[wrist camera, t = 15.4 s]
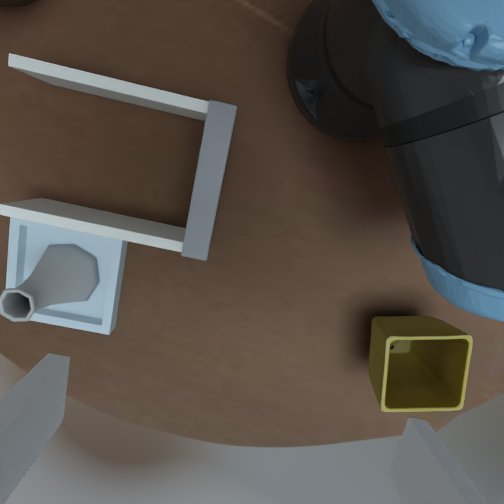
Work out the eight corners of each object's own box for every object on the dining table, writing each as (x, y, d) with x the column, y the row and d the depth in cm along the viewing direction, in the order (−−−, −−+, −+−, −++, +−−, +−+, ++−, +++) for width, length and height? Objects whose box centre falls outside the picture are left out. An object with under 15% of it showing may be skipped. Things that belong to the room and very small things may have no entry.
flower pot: (353, 366, 45) (380, 413, 37) (357, 303, 43) (387, 337, 35) (420, 364, 46) (463, 411, 37) (427, 301, 44) (474, 335, 35)
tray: (22, 211, 39) (10, 213, 37) (129, 233, 40) (123, 237, 38) (15, 308, 42) (4, 315, 40) (115, 326, 43) (109, 334, 41)
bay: (52, 74, 36) (-1, 48, 28) (238, 119, 38) (237, 106, 30) (41, 206, 39) (-10, 216, 31) (213, 242, 41) (206, 260, 33)
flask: (94, 308, 42) (49, 351, 32) (33, 292, 41) (-32, 331, 31) (106, 252, 40) (64, 279, 31) (43, 234, 40) (-22, 256, 30)
